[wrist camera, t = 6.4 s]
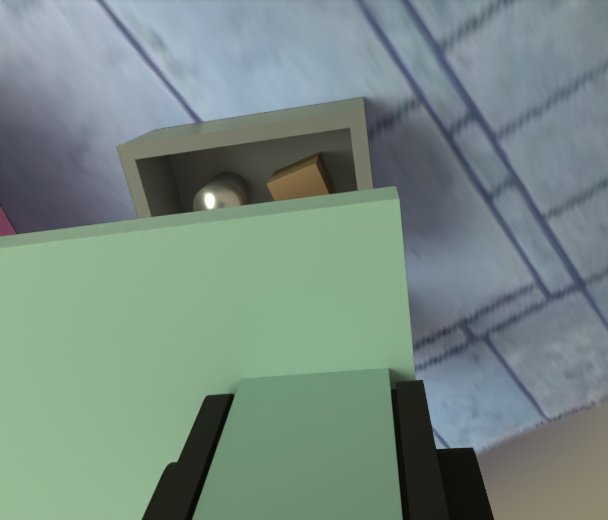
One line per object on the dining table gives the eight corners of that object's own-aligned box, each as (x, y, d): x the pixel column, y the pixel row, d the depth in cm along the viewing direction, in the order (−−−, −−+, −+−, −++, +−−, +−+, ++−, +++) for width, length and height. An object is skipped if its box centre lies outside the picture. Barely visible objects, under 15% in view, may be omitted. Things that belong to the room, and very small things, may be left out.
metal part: (202, 175, 31) (187, 188, 29) (245, 169, 31) (234, 182, 28) (212, 217, 33) (199, 234, 30) (254, 212, 32) (245, 228, 29)
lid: (-188, 249, 12) (-747, 464, 6) (392, 172, 10) (447, 384, 4) (-22, 536, 16) (-259, 849, 10) (425, 525, 14) (479, 914, 8)
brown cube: (274, 171, 31) (266, 183, 28) (319, 151, 30) (315, 163, 27) (294, 214, 32) (288, 230, 29) (338, 196, 31) (336, 211, 28)
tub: (154, 129, 31) (116, 146, 26) (363, 96, 29) (364, 108, 24) (190, 260, 35) (161, 297, 30) (379, 239, 33) (382, 275, 28)
